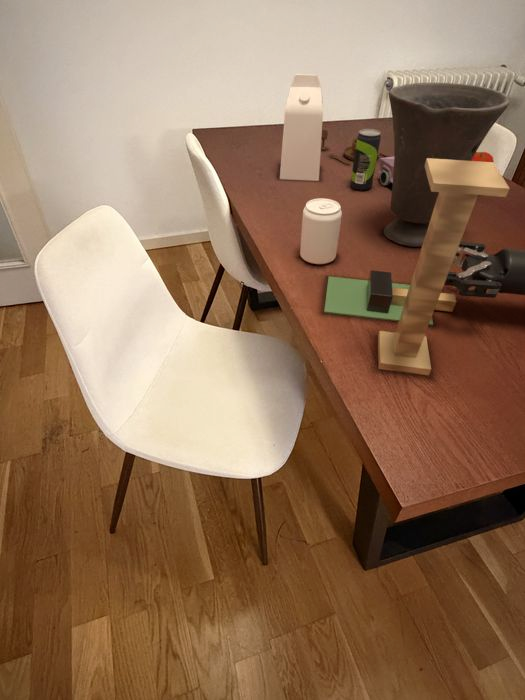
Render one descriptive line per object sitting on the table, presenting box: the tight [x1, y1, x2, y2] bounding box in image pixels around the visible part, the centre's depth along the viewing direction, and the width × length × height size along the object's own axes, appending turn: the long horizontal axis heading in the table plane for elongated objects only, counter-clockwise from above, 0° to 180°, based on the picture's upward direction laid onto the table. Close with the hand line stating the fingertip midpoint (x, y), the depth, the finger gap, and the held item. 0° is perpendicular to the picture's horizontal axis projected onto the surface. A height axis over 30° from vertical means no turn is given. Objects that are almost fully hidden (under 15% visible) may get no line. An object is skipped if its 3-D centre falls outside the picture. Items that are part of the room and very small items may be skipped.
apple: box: [471, 151, 495, 163], centre depth 113 cm, size 9×8×11 cm
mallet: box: [367, 270, 457, 313], centre depth 77 cm, size 16×8×4 cm, turn 79°
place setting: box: [321, 129, 389, 165], centre depth 137 cm, size 18×20×6 cm
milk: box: [279, 73, 324, 182], centre depth 118 cm, size 12×12×26 cm
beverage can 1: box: [299, 197, 343, 265], centre depth 87 cm, size 8×8×12 cm
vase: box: [383, 82, 511, 248], centre depth 87 cm, size 22×22×30 cm
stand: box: [377, 158, 510, 376], centre depth 58 cm, size 8×8×30 cm
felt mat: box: [323, 276, 434, 326], centre depth 79 cm, size 20×12×1 cm, turn 79°
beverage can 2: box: [349, 128, 382, 192], centre depth 113 cm, size 6×6×15 cm
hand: (428, 263), depth 71 cm, fingers open, 8 cm apart
